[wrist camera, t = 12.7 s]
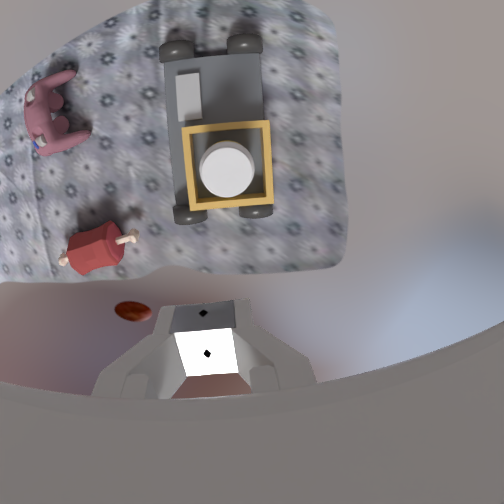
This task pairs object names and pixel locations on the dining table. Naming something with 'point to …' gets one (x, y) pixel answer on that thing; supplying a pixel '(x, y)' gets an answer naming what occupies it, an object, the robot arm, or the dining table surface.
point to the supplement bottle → (226, 168)
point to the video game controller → (49, 116)
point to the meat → (97, 248)
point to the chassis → (216, 123)
